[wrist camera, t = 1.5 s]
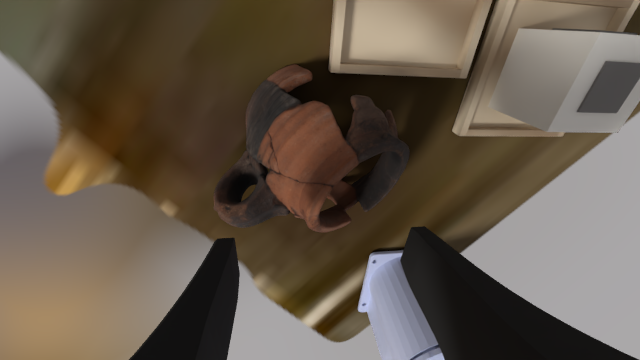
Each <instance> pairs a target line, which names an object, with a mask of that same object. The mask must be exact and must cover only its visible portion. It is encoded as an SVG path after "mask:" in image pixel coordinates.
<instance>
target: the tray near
mask: <svg viewBox="0 0 640 360" xmlns="http://www.w3.org/2000/svg"><path fill="white" fill-rule="evenodd" d="M491 3H492V0H334V1H333V14H332V28H331V41H330V55H329V68H328V70H329V71H330V72H331V73H351V74H374V75H397V76H421V77H444V78H467V75H468V72H469V69H470V66H471V63H472V60H473V57H474V54H475V51H476V48H477V45H478V42H479V39H480V36H481V33H482V30H483V27H484V24H485V21H486V18H487V15H488V12H489V9H490V6H491Z"/></svg>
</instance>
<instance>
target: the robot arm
mask: <svg viewBox="0 0 640 360" xmlns="http://www.w3.org/2000/svg"><path fill="white" fill-rule="evenodd" d="M238 288H239V266H238V259H237V252H236V245H235V238H222V239H217V240H216V241H215V242H214V244H213V246H212V247H211V249H210V251H209V253H208V254H207V256H206V258H205V260H204V261H203V263H202V265H201V266H200V268H199V269H198V271H197V272H196V274H195V275H194V277H193V279H192V280H191V281H190V283H189V284H188V286H187V287H186V289H185V290H184V292H183V293H182V295H181V296H180V297H179V299H178V300H177V301H176V303H175V304H174V305H173V307H172V308H171V309H170V311H169V312H168V313H167V315H166V316H165V317H164V319H163V320H162V321H161V322H160V324H159V325H158V326H157V328H156V329H155V330H154V331H153V333H152V334H151V335H150V336H149V337H148V339H147V340H146V341H145V342H144V343H143V344H142V346H141V347H140V348H139V349H138V350H137V352H136V353H135V354H134V355H133V356H132V357H131V358H130V359H129V360H227V355H228V349H229V344H230V339H231V334H232V328H233V323H234V317H235V312H236V306H237V300H238ZM358 311H359V312H367V313H368V316H369V320H370V323H371V326H372V329H373V332H374V336H375V339H376V342H377V345H378V348H379V352H380V355H381V358H382V360H638V359H636V358H634V357H631V356H629V355H627V354H625V353H623V352H621V351H619V350H617V349H615V348H613V347H610V346H609V345H607V344H604V343H603V342H601V341H599V340H596V339H594V338H592V337H590V336H589V335H587V334H585V333H583V332H581V331H579V330H577V329H575V328H573V327H571V326H570V325H568V324H566V323H564V322H562V321H561V320H559V319H557V318H555V317H553V316H552V315H550V314H548V313H546V312H545V311H543V310H541V309H539V308H537V307H536V306H534V305H533V304H531V303H530V302H528V301H526V300H525V299H523V298H522V297H520V296H518V295H517V294H515V293H514V292H512V291H511V290H509V289H508V288H506V287H504V286H503V285H502V284H500V283H499V282H497V281H496V280H494V279H493V278H492V277H490V276H489V275H487V274H486V273H485V272H483V271H482V270H481V269H479V268H478V267H476V266H475V265H474V264H472V263H471V262H470V261H468V260H467V259H466V258H464V257H463V256H462V255H461V254H459V253H458V252H457V251H456V250H454V249H453V248H452V247H450V246H449V245H448V244H447V243H445V242H444V241H443V240H442V239H440V238H439V237H438V236H436V235H435V234H434V233H433V232H431V231H430V230H429V229H427V228H426V227H411V230H410V232H409V235H408V238H407V241H406V244H405V247H404V250H398V251H383V252H373V253H371V254H370V256H369V261H368V265H367V270H366V274H365V278H364V283H363V287H362V291H361V296H360V300H359V305H358Z"/></svg>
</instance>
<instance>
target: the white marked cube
mask: <svg viewBox="0 0 640 360" xmlns="http://www.w3.org/2000/svg"><path fill="white" fill-rule="evenodd" d="M639 101H640V35H637V33H628V32H616V31H604V30H586V29H561V28H552V30H543V29H522V28H519V29H518V32H517V34H516V37H515V39H514V42H513V44H512V47H511V49H510V52H509V54H508V57H507V59H506V62H505V64H504V67H503V70H502V72H501V75H500V77H499V80H498V82H497V85H496V87H495V90H494V92H493V95H492V97H491V100H490V102H489V105H488V107H489V108H492V109H494V110H496V111H499V112H501V113H503V114H506V115H508V116H510V117H513V118H515V119H517V120H520V121H522V122H525V123H527V124H529V125H532V126H534V127H536V128H539V129H541V130H543V131H546V132H603V133H618V132H619V130H620V129H621V127H622V126H623V124H624V123H625V121H626V120H627V119H628V117H629V116H630V114H631V113H632V111H633V110H634V108H635V107H636V105H637V104H638V103H639Z"/></svg>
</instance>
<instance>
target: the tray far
mask: <svg viewBox="0 0 640 360" xmlns="http://www.w3.org/2000/svg"><path fill="white" fill-rule="evenodd" d="M639 3H640V0H496V3H495V6H494V9H493V11H492V14H491V17H490V20H489V23H488V26H487V29H486V32H485V35H484V38H483V41H482V44H481V47H480V50H479V53H478V56H477V58H476V61H475V64H474V67H473V70H472V73H471V76H470V79H469V82H468V85H467V88H466V91H465V94H464V97H463V100H462V103H461V105H460V108H459V111H458V114H457V117H456V120H455V123H454V126H453V129H452V132H454V133H456V134H457V135H459V136H547V137H562V136H563V135H564V133H565V132H546V131H543V130H541V129H539V128H536V127H534V126H532V125H529V124H527V123H525V122H522V121H520V120H517V119H515V118H513V117H510V116H508V115H506V114H503V113H501V112H499V111H496V110H494V109H492V108H489V107H488V105H489V102H490V100H491V97H492V95H493V92H494V90H495V87H496V85H497V82H498V80H499V77H500V75H501V72H502V70H503V67H504V64H505V62H506V59H507V57H508V54H509V52H510V49H511V47H512V44H513V42H514V39H515V37H516V34H517V32H518V29H519V28H522V29H543V30H552V28H561V29H586V30H604V31H616V32H623V31H624V29H625V27H626V26H627V24H628V22H629V20H630V19H631V17H632V15H633V13H634V12H635V10H636V8H637V6H638V5H639Z"/></svg>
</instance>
